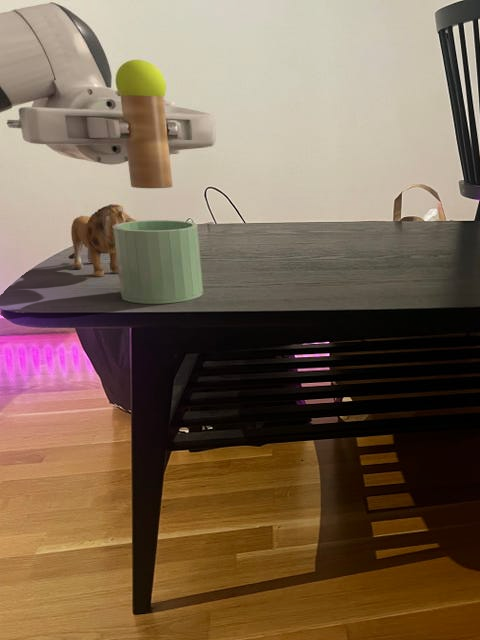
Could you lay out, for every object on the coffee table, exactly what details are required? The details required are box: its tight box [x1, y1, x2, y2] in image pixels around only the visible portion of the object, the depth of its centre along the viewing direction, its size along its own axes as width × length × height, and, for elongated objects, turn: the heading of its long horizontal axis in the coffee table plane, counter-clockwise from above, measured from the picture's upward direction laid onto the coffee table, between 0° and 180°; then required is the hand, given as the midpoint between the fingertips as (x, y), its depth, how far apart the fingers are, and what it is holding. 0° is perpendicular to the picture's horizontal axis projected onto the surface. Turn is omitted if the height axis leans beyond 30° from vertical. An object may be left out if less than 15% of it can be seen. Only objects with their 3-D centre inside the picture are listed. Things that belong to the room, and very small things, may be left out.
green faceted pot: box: [112, 219, 204, 305], centre depth 80 cm, size 9×9×8 cm
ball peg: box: [115, 59, 173, 189], centre depth 76 cm, size 5×5×13 cm
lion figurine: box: [67, 203, 137, 278], centre depth 91 cm, size 15×5×9 cm, turn 57°
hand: (149, 130), depth 75 cm, fingers closed on ball peg, 4 cm apart
